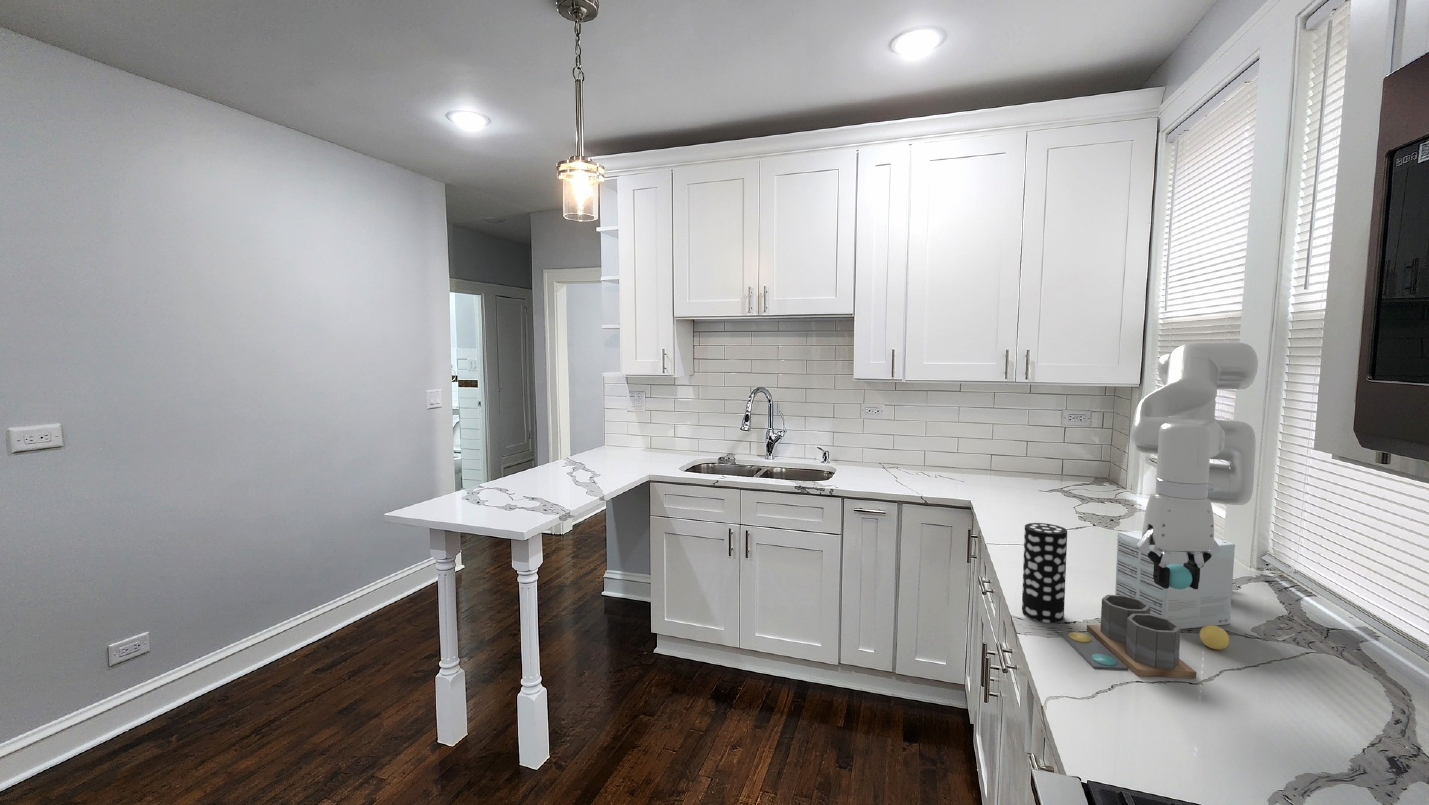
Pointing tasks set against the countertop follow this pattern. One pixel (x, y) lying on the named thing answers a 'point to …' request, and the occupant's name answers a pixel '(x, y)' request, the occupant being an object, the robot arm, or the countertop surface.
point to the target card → (1093, 651)
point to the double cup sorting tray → (1140, 638)
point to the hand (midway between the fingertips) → (1175, 585)
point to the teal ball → (1179, 576)
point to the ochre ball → (1214, 637)
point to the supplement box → (1177, 604)
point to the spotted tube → (1044, 572)
